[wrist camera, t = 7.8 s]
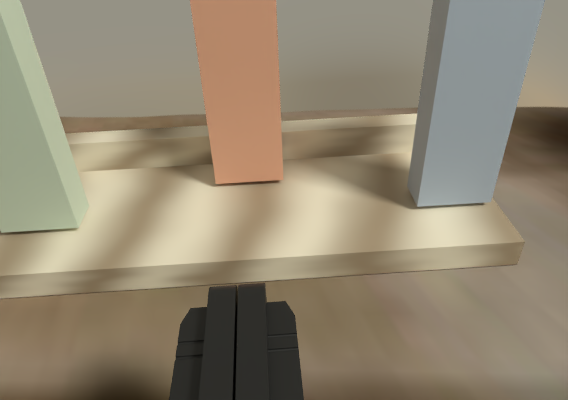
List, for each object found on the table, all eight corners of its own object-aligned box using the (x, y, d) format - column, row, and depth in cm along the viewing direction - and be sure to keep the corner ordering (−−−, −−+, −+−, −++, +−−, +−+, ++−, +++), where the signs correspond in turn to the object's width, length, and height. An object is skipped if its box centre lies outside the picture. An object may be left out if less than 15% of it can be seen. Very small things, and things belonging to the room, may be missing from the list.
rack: (-22, 299, 23) (-53, 246, 21) (59, 172, 33) (42, 126, 31) (517, 264, 24) (535, 209, 22) (439, 149, 34) (448, 104, 32)
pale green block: (1, 232, 25) (-119, -15, 18) (16, 210, 26) (-89, -25, 19) (78, 227, 25) (-12, -20, 18) (89, 205, 26) (10, -29, 20)
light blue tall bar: (417, 206, 25) (456, -43, 18) (407, 186, 27) (439, -50, 20) (490, 202, 25) (557, -47, 19) (476, 181, 27) (532, -54, 20)
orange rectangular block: (215, 183, 28) (184, -43, 21) (217, 166, 29) (188, -49, 23) (283, 179, 28) (274, -47, 21) (281, 162, 30) (272, -53, 23)
